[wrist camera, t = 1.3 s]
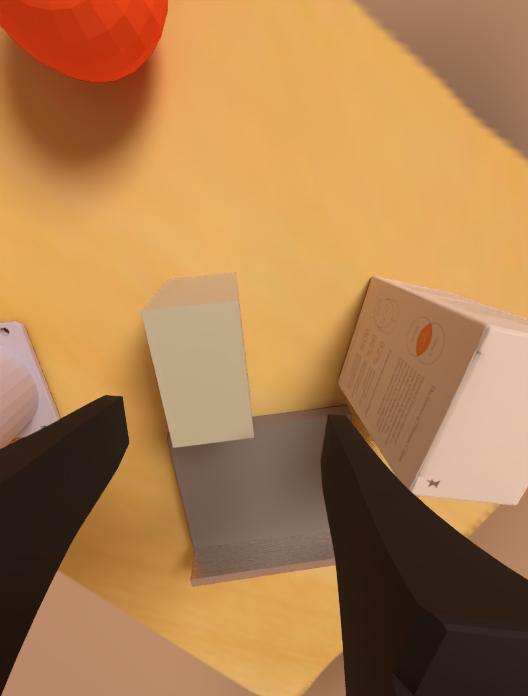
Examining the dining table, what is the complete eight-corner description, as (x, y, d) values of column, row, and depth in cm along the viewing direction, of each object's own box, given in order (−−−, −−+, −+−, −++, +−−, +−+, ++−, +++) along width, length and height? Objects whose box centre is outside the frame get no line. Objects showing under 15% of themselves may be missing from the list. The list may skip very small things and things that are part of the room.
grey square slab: (197, 543, 28) (192, 588, 25) (170, 427, 24) (159, 463, 20) (344, 522, 29) (359, 563, 26) (345, 405, 24) (364, 436, 21)
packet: (188, 380, 23) (172, 447, 16) (169, 278, 20) (139, 310, 13) (247, 373, 23) (254, 437, 16) (236, 272, 20) (238, 300, 14)
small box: (404, 393, 25) (517, 511, 15) (334, 382, 24) (406, 501, 14) (448, 289, 22) (623, 351, 12) (370, 272, 21) (492, 324, 11)
